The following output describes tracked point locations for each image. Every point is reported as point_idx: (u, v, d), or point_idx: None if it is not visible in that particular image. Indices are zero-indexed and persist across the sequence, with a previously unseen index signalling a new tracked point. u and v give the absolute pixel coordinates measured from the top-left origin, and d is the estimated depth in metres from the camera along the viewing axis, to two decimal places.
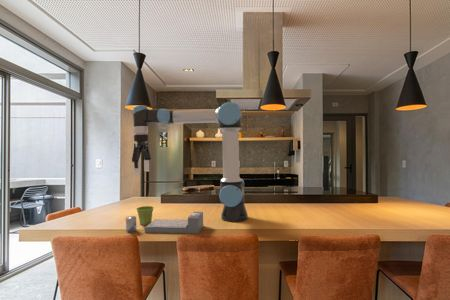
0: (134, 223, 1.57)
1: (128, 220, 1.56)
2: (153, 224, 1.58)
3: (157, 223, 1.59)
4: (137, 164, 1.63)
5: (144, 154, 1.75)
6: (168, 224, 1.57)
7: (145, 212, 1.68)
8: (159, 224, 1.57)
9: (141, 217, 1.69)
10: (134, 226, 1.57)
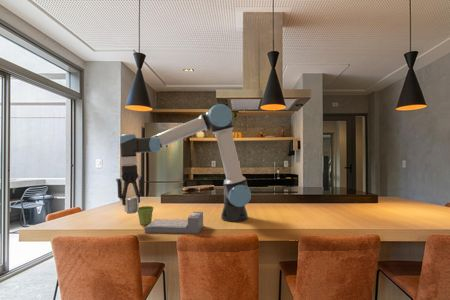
0: (134, 204, 1.57)
1: (128, 201, 1.56)
2: (153, 224, 1.58)
3: (157, 223, 1.59)
4: (124, 201, 1.55)
5: (134, 188, 1.59)
6: (168, 224, 1.57)
7: (145, 212, 1.68)
8: (159, 224, 1.57)
9: (141, 217, 1.69)
10: (134, 207, 1.57)
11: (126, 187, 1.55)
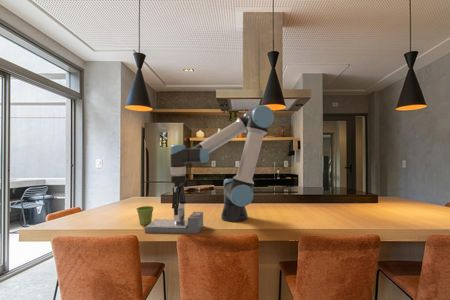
0: None
1: (181, 211, 1.57)
2: (153, 224, 1.58)
3: (157, 223, 1.59)
4: (177, 211, 1.54)
5: (180, 196, 1.63)
6: (168, 224, 1.57)
7: (145, 212, 1.68)
8: (159, 224, 1.57)
9: (141, 217, 1.69)
10: None
11: (179, 197, 1.56)
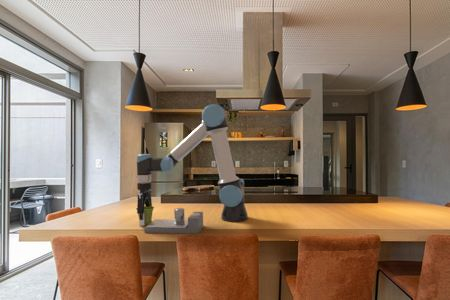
0: None
1: (181, 212, 1.57)
2: (153, 224, 1.58)
3: (157, 223, 1.59)
4: (142, 216, 1.66)
5: (146, 202, 1.75)
6: (168, 224, 1.57)
7: (145, 212, 1.68)
8: (159, 224, 1.57)
9: None
10: None
11: (144, 202, 1.68)
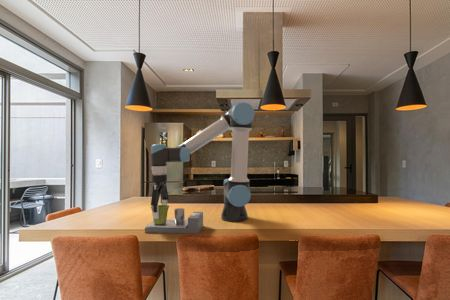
0: None
1: (181, 211, 1.57)
2: (153, 224, 1.58)
3: None
4: (156, 208, 1.53)
5: (162, 194, 1.65)
6: (168, 224, 1.57)
7: (161, 210, 1.55)
8: (159, 224, 1.57)
9: None
10: (184, 217, 1.60)
11: (159, 195, 1.56)
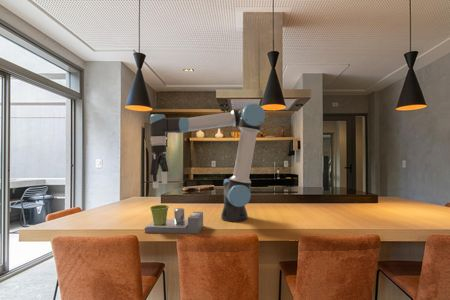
0: None
1: (180, 211, 1.57)
2: (153, 224, 1.58)
3: None
4: (156, 177, 1.52)
5: (162, 165, 1.64)
6: (168, 224, 1.57)
7: (160, 211, 1.55)
8: None
9: (155, 217, 1.55)
10: None
11: (158, 165, 1.55)
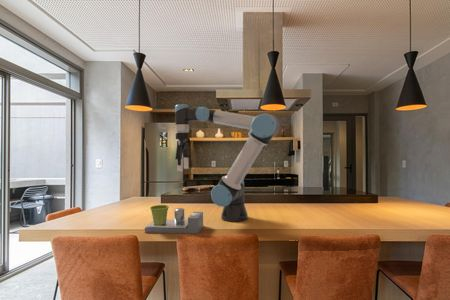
0: None
1: (180, 212, 1.57)
2: (153, 224, 1.58)
3: None
4: (180, 161, 1.68)
5: (184, 151, 1.80)
6: (168, 224, 1.57)
7: (160, 211, 1.55)
8: None
9: (155, 217, 1.55)
10: None
11: (182, 150, 1.71)
